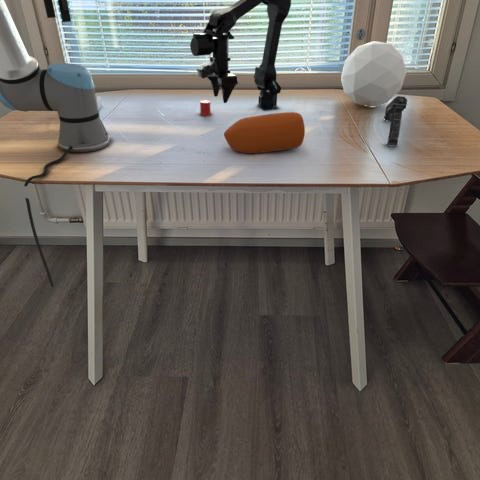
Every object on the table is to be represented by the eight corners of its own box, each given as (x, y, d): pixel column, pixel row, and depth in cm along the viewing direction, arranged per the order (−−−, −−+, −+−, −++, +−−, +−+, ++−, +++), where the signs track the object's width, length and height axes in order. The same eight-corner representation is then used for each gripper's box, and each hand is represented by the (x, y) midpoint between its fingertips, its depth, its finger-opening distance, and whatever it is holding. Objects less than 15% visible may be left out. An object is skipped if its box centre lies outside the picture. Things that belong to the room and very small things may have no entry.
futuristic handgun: (389, 146, 153) (397, 104, 149) (399, 145, 125) (409, 94, 122) (379, 144, 154) (386, 103, 150) (386, 144, 126) (395, 93, 122)
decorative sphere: (326, 73, 174) (348, 26, 151) (380, 71, 178) (409, 25, 155) (338, 120, 167) (363, 79, 144) (393, 117, 171) (427, 77, 148)
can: (212, 114, 155) (212, 101, 153) (205, 116, 153) (204, 103, 150) (205, 112, 158) (205, 99, 155) (198, 114, 155) (197, 101, 153)
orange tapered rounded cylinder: (228, 162, 123) (308, 151, 124) (223, 128, 117) (309, 117, 118) (224, 147, 133) (299, 137, 134) (220, 115, 127) (299, 104, 128)
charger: (106, 102, 166) (96, 114, 153) (83, 102, 165) (72, 114, 153) (104, 90, 163) (94, 101, 151) (80, 90, 163) (69, 101, 150)
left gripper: (70, -58, 122) (84, 22, 134) (40, -57, 137) (56, 15, 149) (44, -59, 117) (62, 24, 130) (17, -57, 133) (35, 16, 145)
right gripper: (189, 50, 145) (191, 95, 154) (207, 60, 131) (208, 108, 140) (218, 48, 149) (218, 92, 158) (239, 58, 135) (238, 105, 144)
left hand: (59, 19), depth 139 cm, fingers open, 13 cm apart
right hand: (220, 99), depth 150 cm, fingers open, 9 cm apart
